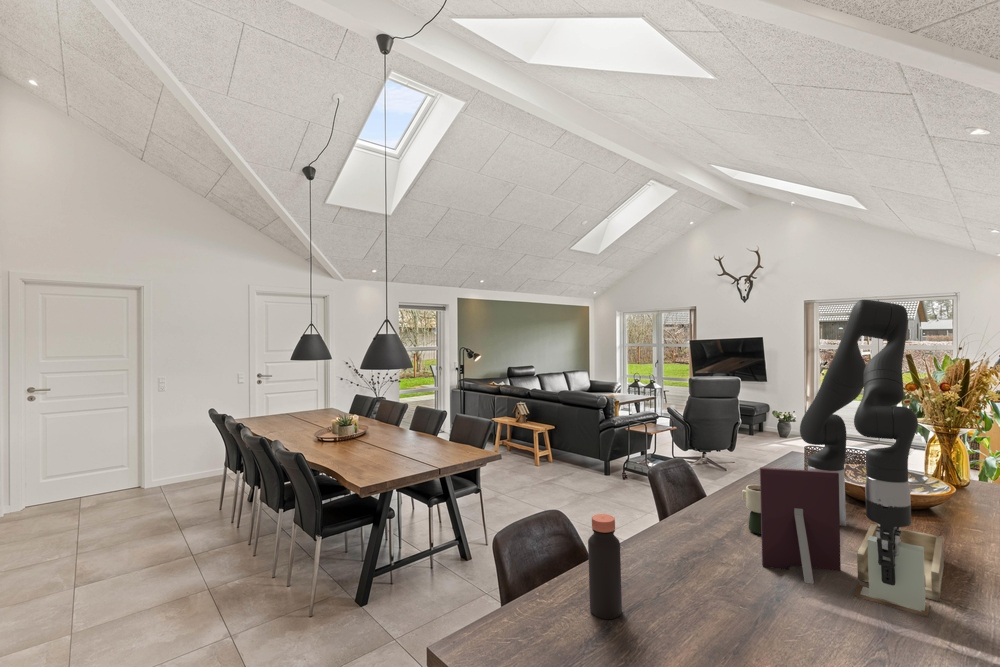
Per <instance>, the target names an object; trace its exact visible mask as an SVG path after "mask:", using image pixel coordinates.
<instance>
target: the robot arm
mask: <svg viewBox="0 0 1000 667" xmlns="http://www.w3.org/2000/svg"><path fill="white" fill-rule="evenodd" d="M908 323H909V316H908V311H907V309H906V308H905V306H903V305H901V304H899V303H898V304H897V303H891V302H887V301H886V302H885V301H880V300H872V299H860V300H858V301H857V302H855V304H854V306H853V307H852V309H851V311H850V314H849V317H848V318H847V323H846V325H845V328H844V331H843V334H842V337H841V339H840V341H839V345H838V347H837V349H836V352H834V353H835V354H834V355H833V357H832V359H831V361H830V364H829V365H828V368H827V370H826V371H825V374H824V376H823V379H822V381H821V385H820V386H819V389H818V390H817V393H816V395H815V397H814V399H813V401H812V402H811V404H810V405H809V407H808V409H807V410H806V412H805V414H804V415H803V417H802V419H801V421H800V424H799V425H800V426H799V434H800V437H801V439H802V441H803V442H804V443H806V444H808V445H812V446H813V445H815V446H816V445H817V446H823V448H821V449H820V450H819V451H817V452H814V453H812V454H809V455H808V457H807V470H813V471H830V472H838V473H839V509H840V526H844V527H847V517H846V514H847V512H846V511H847V510H846V483H845V481H846V480H845V462H846V458H847V426H846V424H845V421H844V419H843V417H841V416H840V415H838V414H834V413H836V412H837V411H839V410H841V409H843V408H844V407H847V405H849V404H850V403H852V402H854V401H855V400H856V399H857V398H858V397H859V396H860V394H862V397H861V400H860V403H859V405H858V406H857V409H856V411H855V414H854V418H853V424H854V425H853V426H854V428H855V430H856V431H857V433H859V435H861V436H863V437H865V438H870V439H871V438H872V439H873V438H874V439H883V440H884V439H886V440H895V442H894V444H892V445H890V446H887V447H877V448H870V449H868V450H867V451H866V453H865V473H866V475H865V476H866V477H865V478H866V479H865V485H864V487H865V489H864V490H865V515H866V518H867V519H868V521H871V522H872V523H876V524H879V525H880V526H878V530H877V529H876V537H877V551H878V563H879V565H881V576H882V582H883V583H885V584H889V585H893V586H894V585H895V583H896V582H895V567H896V564H895V558H896V557H897V556H898V555H899V543H900V542H901V536H902V533H901V530H899V528H906V527H909V526H911V525H912V505H911V490H910V489H911V488H910V484H909V455H910V451H911V447H912V443H913V441H914V438H915V436H916V433H917V430H918V425H919V420H918V418H917V415H916V413H915V411H913V410H912V409H911V408H909V407H907V406H896V405H898V404H901V403H902V401H903V400H904V397H905V396H904V395H905V392H904V391H905V390H904V378H903V361H904V356H905V348H906V341H907V331H908ZM860 337H867V338H873V339H874V338H875V339H880V340H886V345H885V346H884V347H883V348H882V349H881V350H880V351H879V352H878V353H876V354H874V356H872V357H871V358H870V359H869V361H868V362H867V363H866V361H865V359H864V358H863V356H862V354H861V351H860V346H859V339H860ZM862 391H863V393H862ZM894 548H895V551H893V550H894ZM884 557H888V558H890V561H888V560H884V559H883V558H884Z"/></svg>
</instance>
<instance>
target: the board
mask: <svg viewBox="0 0 1000 667" xmlns="http://www.w3.org/2000/svg"><path fill="white" fill-rule="evenodd" d="M853 597H856V598H859V599H863V600H866V601H870V602H873V603H878V604H881V605H884V606H887V607H891V608H894V609H897V610H901V611H904V612H908V613H910V614H915V615H917V616H920V617H921V616H922V617H924V618H929V617H928V616H929V610H930V602H927V601H925V604H926V605H925V611H923V610H919V609H916V608H912V607H909V606H905V605H902V604H898V603H895V602H891V601H888V600H884V599H881V598H877V597H874V596H870V595H869V585H865V584H860V583H857V586H856V588H855V591H854V593H853Z"/></svg>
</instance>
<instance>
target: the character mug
mask: <svg viewBox="0 0 1000 667" xmlns="http://www.w3.org/2000/svg"><path fill="white" fill-rule="evenodd" d="M741 499H742V501H745V502H746V508H747V510H749V511H750V512H749V518H748V530H750V531H751V533H754V534H758V535H759V534H761V494H760V484H748V485H746V487H745V489H742V491H741Z"/></svg>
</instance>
